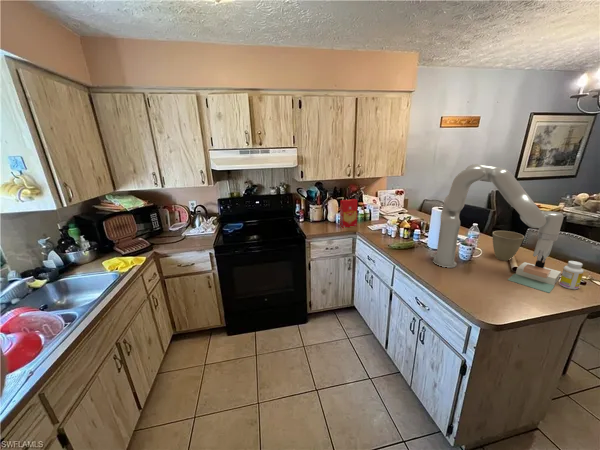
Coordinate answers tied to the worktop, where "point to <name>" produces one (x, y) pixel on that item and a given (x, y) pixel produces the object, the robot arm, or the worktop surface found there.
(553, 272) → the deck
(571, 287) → the supplement bottle
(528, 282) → the mat
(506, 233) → the plant pot
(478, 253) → the worktop surface
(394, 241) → the worktop surface
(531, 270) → the tile
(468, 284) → the worktop surface
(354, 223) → the food packaging
